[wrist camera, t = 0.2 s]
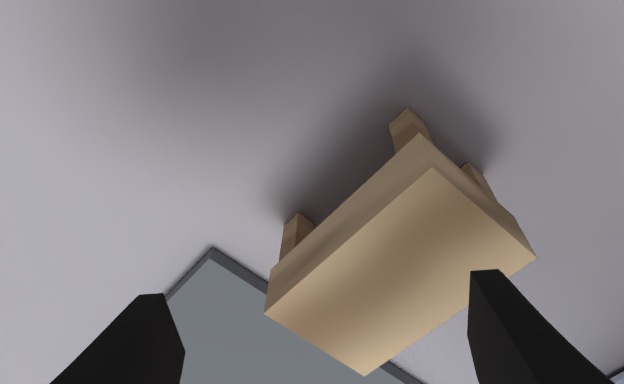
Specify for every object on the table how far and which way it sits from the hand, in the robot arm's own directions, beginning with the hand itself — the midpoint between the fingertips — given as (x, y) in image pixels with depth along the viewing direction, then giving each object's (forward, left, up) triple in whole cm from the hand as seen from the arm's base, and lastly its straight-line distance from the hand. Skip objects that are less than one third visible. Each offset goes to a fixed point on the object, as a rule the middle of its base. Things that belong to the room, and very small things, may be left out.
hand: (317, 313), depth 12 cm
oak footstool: (-4, +1, -10) cm, 10 cm away
